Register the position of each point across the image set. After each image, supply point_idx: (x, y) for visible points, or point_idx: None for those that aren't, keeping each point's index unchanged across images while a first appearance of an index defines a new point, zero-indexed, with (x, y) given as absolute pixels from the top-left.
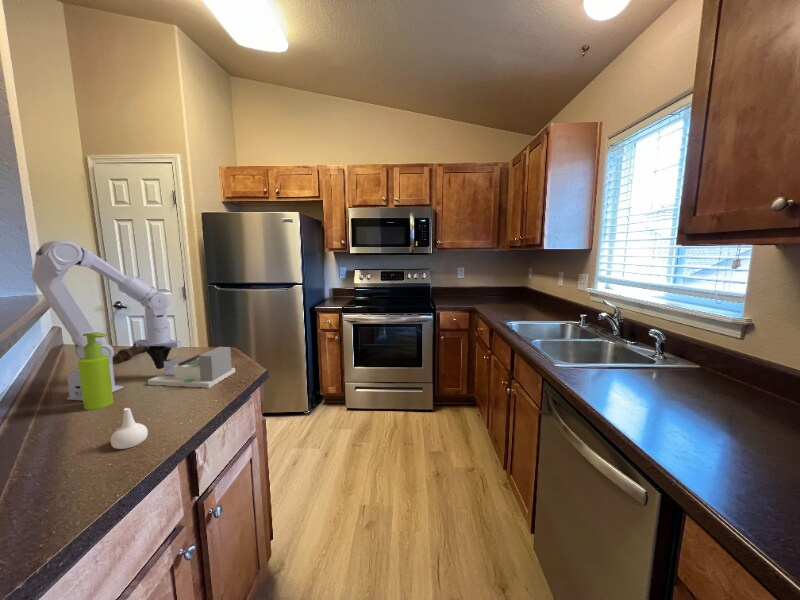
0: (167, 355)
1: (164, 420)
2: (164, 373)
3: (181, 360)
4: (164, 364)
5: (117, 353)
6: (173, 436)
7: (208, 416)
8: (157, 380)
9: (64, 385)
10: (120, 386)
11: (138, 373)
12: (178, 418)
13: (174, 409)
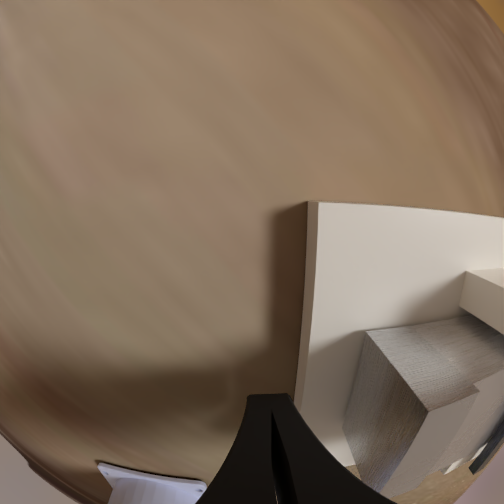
0: (348, 476)
1: (439, 492)
2: (315, 405)
3: (478, 425)
4: (366, 481)
5: None
6: (456, 492)
7: (494, 454)
8: (343, 465)
9: (4, 421)
10: (193, 486)
11: (62, 325)
12: (457, 480)
13: (447, 477)
